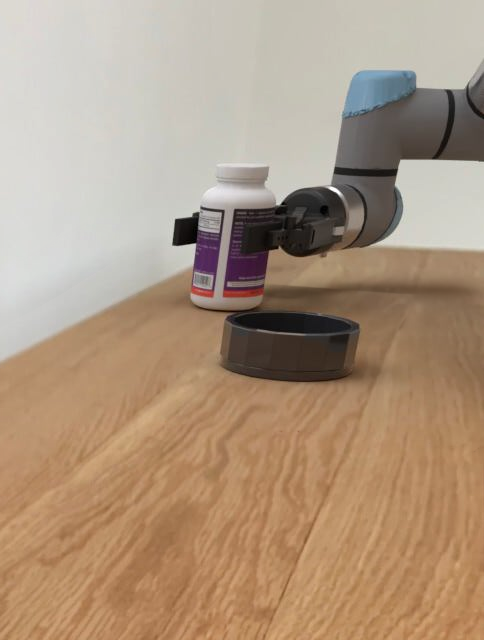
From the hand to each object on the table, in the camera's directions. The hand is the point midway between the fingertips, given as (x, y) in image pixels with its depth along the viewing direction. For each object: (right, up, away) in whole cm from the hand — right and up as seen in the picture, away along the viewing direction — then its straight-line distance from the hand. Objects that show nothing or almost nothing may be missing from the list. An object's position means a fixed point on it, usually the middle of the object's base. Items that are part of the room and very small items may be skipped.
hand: (210, 236), depth 120 cm
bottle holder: (+2, -20, -19) cm, 28 cm away
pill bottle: (+3, -5, +7) cm, 9 cm away
